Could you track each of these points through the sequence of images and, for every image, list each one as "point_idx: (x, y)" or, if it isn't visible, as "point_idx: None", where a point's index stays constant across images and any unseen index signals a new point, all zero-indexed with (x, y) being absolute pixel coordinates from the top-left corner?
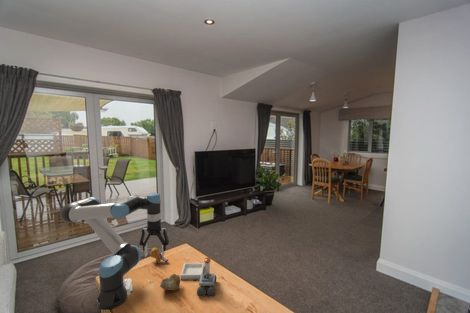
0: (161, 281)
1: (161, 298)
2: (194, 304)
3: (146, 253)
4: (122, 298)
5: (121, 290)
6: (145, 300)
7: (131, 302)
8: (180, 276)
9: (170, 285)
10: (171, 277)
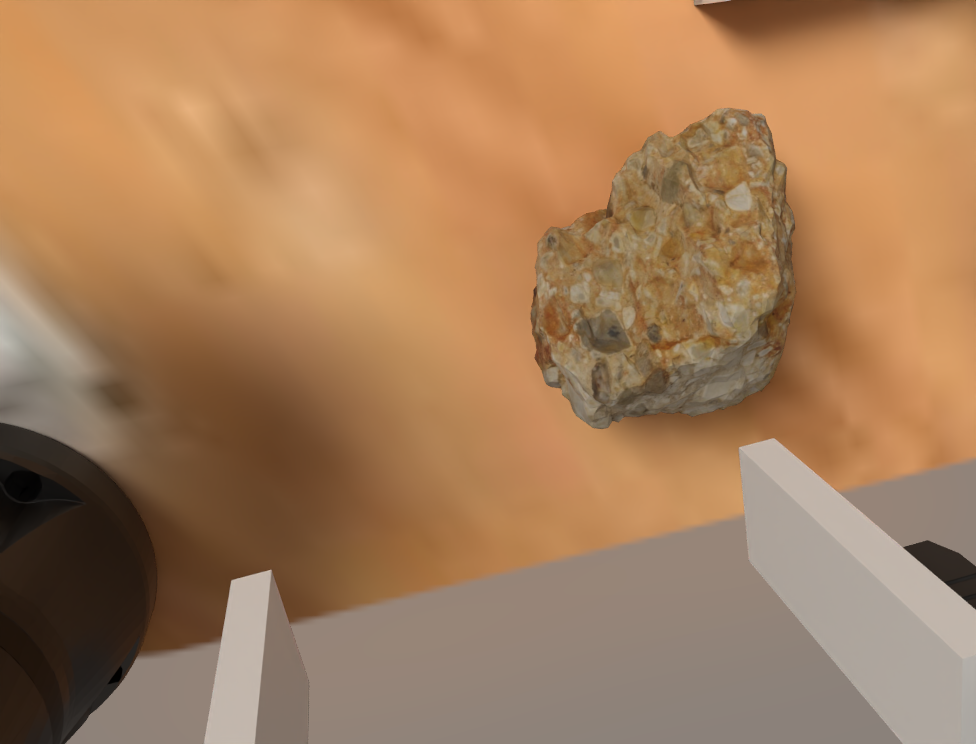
0: (568, 374)
1: (573, 417)
2: (955, 414)
3: (294, 704)
4: (141, 622)
5: (86, 667)
6: (399, 487)
7: (251, 551)
8: (715, 1)
9: (723, 405)
10: (741, 346)
